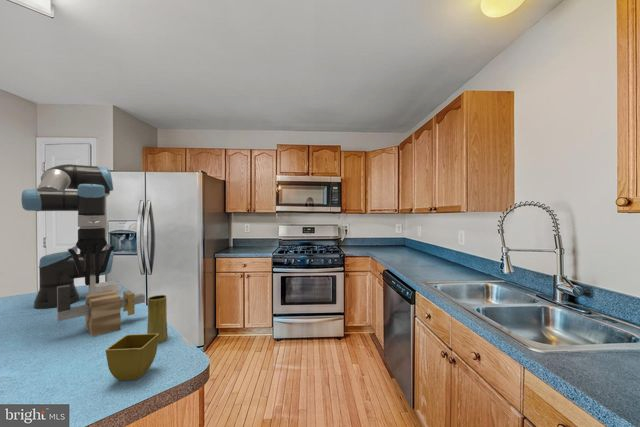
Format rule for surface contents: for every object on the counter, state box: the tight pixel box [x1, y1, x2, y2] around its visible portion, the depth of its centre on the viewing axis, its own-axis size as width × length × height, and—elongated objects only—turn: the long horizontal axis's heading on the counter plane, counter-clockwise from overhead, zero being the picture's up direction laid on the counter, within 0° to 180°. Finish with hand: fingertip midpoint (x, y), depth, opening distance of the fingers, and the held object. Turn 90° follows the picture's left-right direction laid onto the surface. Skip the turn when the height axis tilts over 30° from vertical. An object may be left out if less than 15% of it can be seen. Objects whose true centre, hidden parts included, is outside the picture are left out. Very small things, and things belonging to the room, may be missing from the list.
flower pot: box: [105, 333, 159, 382], centre depth 72 cm, size 9×9×9 cm
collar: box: [122, 289, 136, 316], centre depth 106 cm, size 7×2×8 cm, turn 48°
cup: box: [96, 280, 122, 297], centre depth 117 cm, size 9×9×12 cm
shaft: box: [56, 285, 146, 322], centre depth 101 cm, size 3×25×11 cm, turn 138°
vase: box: [146, 294, 169, 344], centre depth 91 cm, size 6×6×14 cm
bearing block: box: [85, 290, 122, 338], centre depth 100 cm, size 12×8×12 cm, turn 48°
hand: (92, 293), depth 98 cm, fingers closed
